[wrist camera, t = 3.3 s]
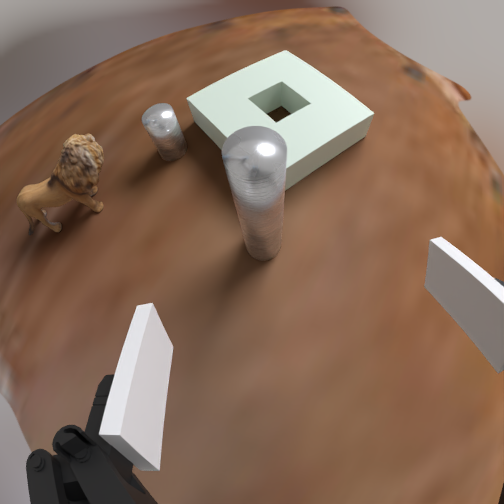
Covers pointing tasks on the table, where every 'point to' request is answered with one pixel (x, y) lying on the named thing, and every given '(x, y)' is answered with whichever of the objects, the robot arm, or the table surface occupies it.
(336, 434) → the table surface
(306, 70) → the socket block
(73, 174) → the lion figurine
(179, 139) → the short peg
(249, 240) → the tall peg
